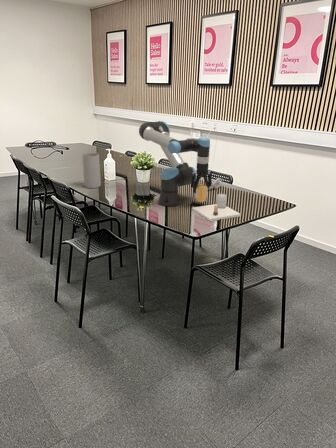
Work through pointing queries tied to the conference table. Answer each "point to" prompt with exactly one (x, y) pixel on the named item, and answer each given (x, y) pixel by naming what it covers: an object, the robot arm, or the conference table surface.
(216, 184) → the wrench
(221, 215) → the plate
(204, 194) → the wire cap
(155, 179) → the conference table surface
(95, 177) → the cylinder vase
